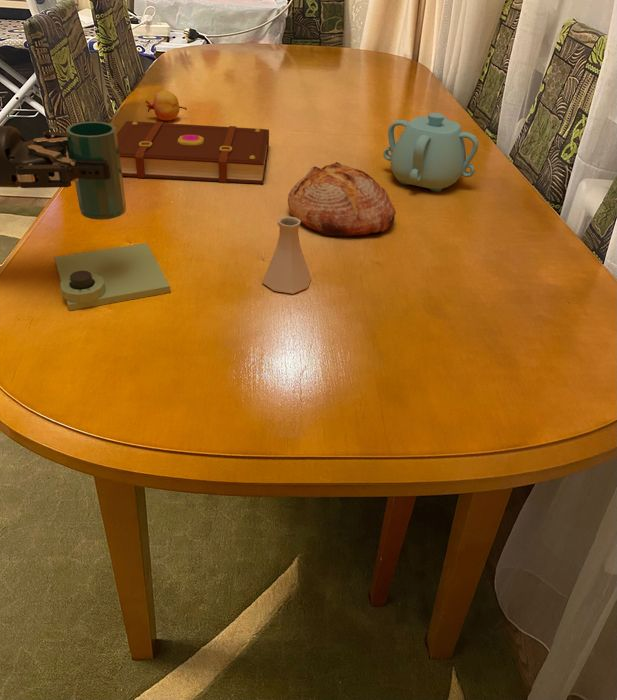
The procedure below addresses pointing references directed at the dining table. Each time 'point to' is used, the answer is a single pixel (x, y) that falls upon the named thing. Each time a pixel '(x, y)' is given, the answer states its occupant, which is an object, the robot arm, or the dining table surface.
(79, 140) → the cup
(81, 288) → the tare button
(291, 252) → the flask
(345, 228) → the bread
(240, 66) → the dining table surface
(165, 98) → the fruit
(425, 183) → the decorative pot
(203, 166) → the book
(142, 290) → the scale
